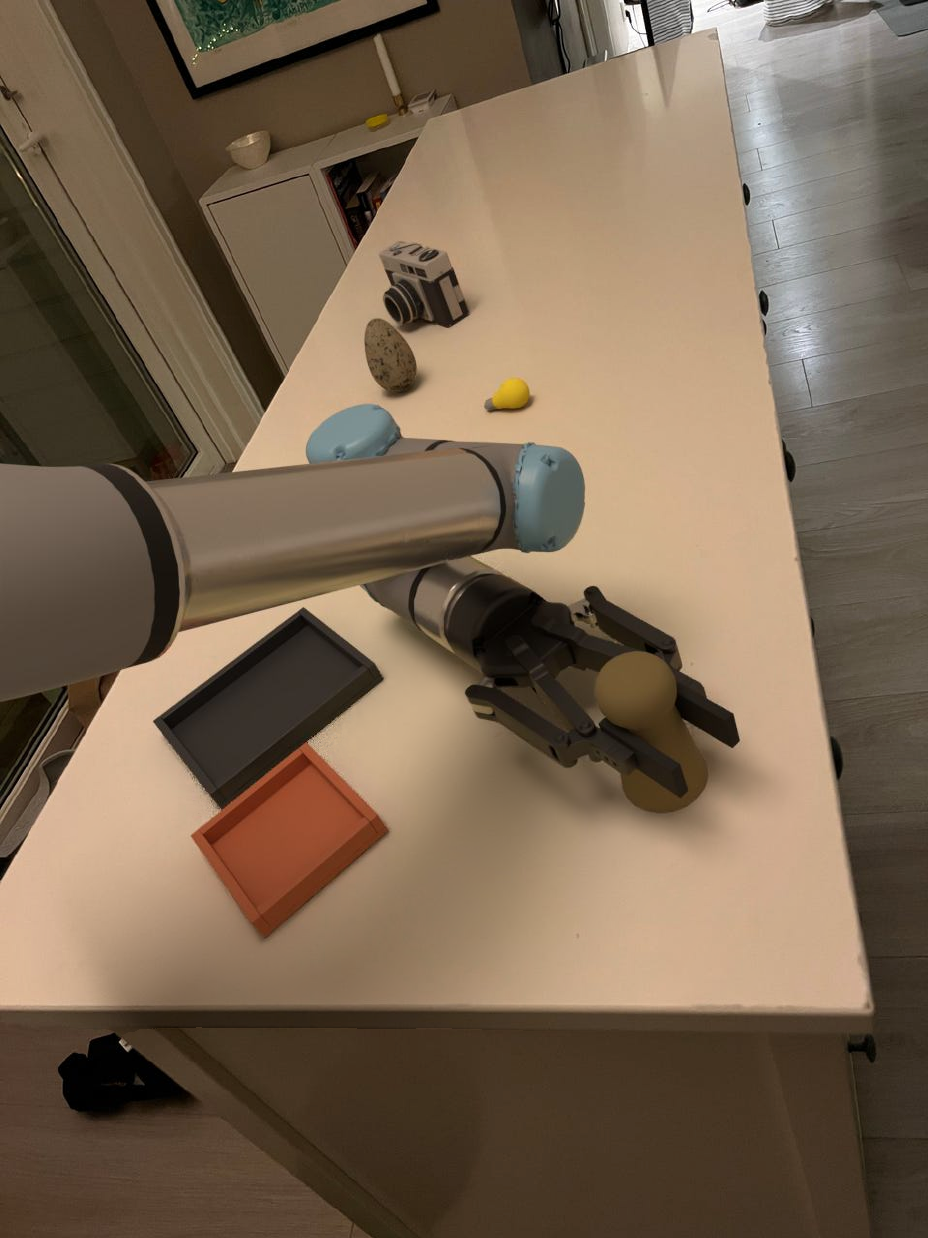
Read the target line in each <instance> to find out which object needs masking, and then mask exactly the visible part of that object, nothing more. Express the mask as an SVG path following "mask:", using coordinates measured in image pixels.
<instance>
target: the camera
mask: <svg viewBox="0 0 928 1238" xmlns="http://www.w3.org/2000/svg"><path fill="white" fill-rule="evenodd" d="M378 257H379V259H380V261H381V264H382V266H383V268H384V269H383V270H384V272H385V274H386V276H387V278H388V279H387V280H388V281H389V283H390V286H389V288H388V289H387V290H386V291H384V293H383V295H382V302H383V306H384V308H385V310H386V312H387V313H388V316H390V318H391V319H392V320H393V321H394V323H396V324H398V325H406V324H407V323H408V324H409V323H414V324H417V323H418V322H419V319H421V320H423V321H427V322H430V323H431V324H432V323H433V324H436V325H438V326H441V327H445V328H451V327H452V326H454V325H455V324H456V323H458V322H460V321H461V320H463V319H464V318H466V317H467V316H469V315H470V311H469V308H468V305H467V302H466V299H465V295H464V294H463V291H462V288H461V286H460V283H459V280H458V277H457V274H456V271H455V269H454V267H453V266H452V263H451V260H450V258H449V255H448V252H447V251H446V250H442V249H437V248H435V247H434V248H433V247H429V246H425V247H424V246H423V244H421V243H418V242H417V241H407V242H406V241H402V240H401V241H400V240H398V241H396V242H394V243H393V244H391V245H389V246H388V247H386V248H384V249H383V250H381V251H380V252H378Z"/></svg>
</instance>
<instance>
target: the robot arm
mask: <svg viewBox="0 0 928 1238" xmlns="http://www.w3.org/2000/svg"><path fill="white" fill-rule="evenodd" d="M401 432H402V431H401V427H400V425H398V424H397V422H396V421H395V419H394V417H393V416H392V414H391V413H390V411H388V410H387V409H385V408H383V407H382V406H381V405H379V404H374V403H362V404H357V405H356V404H355V405H353V406H349V407H346V408H344V409H342V410H340V411H338V412H336V413H334V414H332V415H330V416H329V417H327V418H326V419H325V420H323V421H322V422H321V423H320V424H319V425H318V426H317V427H316V429H314V430H313V431H312V432H311V434H310V436H309V437H308V440H307V442H306V445H305V456H306V460H307V461H308V463H303V464H295V465H294V464H293V465H286V466H276V467H267V468H257V469H249V470H239V471H231V472H220V473H213V474H204V475H193V476H185V477H176V478H167V479H165V478H164V479H157V480H149V481H147V480H146V481H145V480H144V479H143V478H141V476H139V474H137V473H136V472H134V471H132V469H130V468H127V467H125V466H123V465H120V464H115V463H98V464H87V465H86V464H85V465H72V466H39V465H25V464H11V463H0V703H2V702H7V701H11V700H16V699H19V698H25V697H27V696H31V695H36V694H40V693H43V692H46V691H51V690H54V689H58V688H63V687H65V686H69V685H73V684H77V683H81V682H84V681H89V680H92V679H96V678H99V677H103V676H106V675H110V674H112V673H116V672H120V671H123V670H126V669H129V668H134V667H136V666H139V665H143V664H146V663H151V662H153V661H155V660H157V659H159V658H161V657H162V656H163V655H165V654H166V653H167V651H168V650H169V649H170V648H171V647H172V645H173V643H174V642H175V640H176V638H177V636H178V634H179V633H181V632H186V631H190V630H193V629H197V628H201V627H204V626H208V625H209V626H210V625H213V624H216V623H220V622H223V621H227V620H232V619H235V618H239V617H243V616H247V615H250V614H251V615H252V614H254V613H259V612H261V611H266V610H270V609H274V608H277V607H280V606H285V605H289V604H292V603H296V602H301V601H304V600H307V599H311V598H315V597H319V596H322V595H327V594H331V593H334V592H338V591H342V590H346V589H349V588H353V587H357V586H359V587H360V588H361V589H362V590H364V591H365V592H366V593H367V595H368V597H370V598H371V599H372V600H373V601H374V602H375V603H378V604H379V605H380V606H381V607H383V608H385V609H387V610H389V611H391V612H392V613H394V614H396V615H397V616H398V617H400V618H401V619H403V620H404V621H406V622H408V623H409V624H411V626H413V627H415V628H416V629H417V630H419V631H421V632H422V633H423V634H425V635H426V636H428V638H430V639H432V640H433V641H435V642H436V643H438V644H439V645H440V646H442V647H444V648H445V649H446V650H448V651H449V652H451V653H452V654H454V655H455V656H456V657H458V658H459V659H460V660H461V661H463V662H465V663H466V664H468V666H470V667H471V668H473V669H474V670H476V671H478V672H479V673H480V674H482V676H483V677H482V678H481V679H480V681H479V682H478V684H471V685H469V686H467V687H466V688H465V690H464V695H465V697H466V700H467V701H468V703H469V705H470V707H471V709H472V711H473V713H474V715H475V717H476V718H477V719H480V720H485V721H489V722H492V723H493V722H494V723H498V724H499V725H501V726H502V727H504V728H505V729H506V730H508V731H510V732H511V733H513V734H514V735H516V736H517V737H519V738H520V739H521V740H523V741H524V742H526V743H528V744H529V745H531V746H532V747H533V748H535V749H536V750H538V751H539V752H541V753H542V754H543V755H545V756H547V757H548V758H549V759H551V760H552V761H553V762H555V763H557V764H558V765H559V766H561V767H563V768H565V769H572V768H573V767H575V766H576V765H577V764H578V762H579V759H580V758H583V757H585V756H588V758H589V760H590V761H591V762H592V763H600V762H603V763H605V764H607V765H608V766H609V767H611V768H612V769H613V770H615V771H616V772H618V773H619V774H620V773H621V774H625V775H630V774H631V773H632V772H633V771H634V770H635V769H638V770H639V771H641V772H642V773H644V774H645V775H647V776H648V777H649V778H651V779H652V780H654V781H655V782H657V783H658V784H660V785H661V786H663V787H664V788H666V789H667V790H669V791H670V792H671V793H673V794H674V795H676V796H677V797H679V798H680V799H681V798H682V797H683V796H684V795H685V794H686V793H687V792H688V791H689V790H688V787H687V784H686V781H685V777H684V774H683V771H682V768H681V765H680V764H679V763H678V762H676V761H675V760H673V759H672V758H670V757H669V756H667V755H665V754H664V753H662V752H661V751H659V750H658V749H656V748H655V747H653V746H652V745H650V744H649V743H647V742H645V741H644V740H642V739H641V738H639V737H638V736H636V735H635V734H633V733H632V732H630V731H628V730H627V729H625V728H622V727H620V726H618V725H615V724H613V723H612V722H610V721H609V720H608V719H607V718H606V717H605V716H604V717H603V718H602V720H600V721H599V722H598V726H597V725H596V724H595V721H594V719H592V717H591V716H590V715H589V714H588V713H587V712H586V711H585V710H584V708H583V707H582V706H581V705H580V703H578V702H577V701H576V699H574V698H573V696H572V695H571V694H570V693H569V692H568V691H567V690H566V689H565V688H564V687H563V685H562V684H561V683H560V682H559V681H558V679H557V677H558V676H559V675H560V673H561V672H562V671H565V670H567V669H568V668H569V667H571V668H573V669H577V670H580V671H583V672H584V671H587V670H591V671H594V672H597V673H599V672H600V670H601V669H602V668H603V667H604V665H605V664H606V663H607V662H609V661H610V660H611V659H613V658H614V657H616V656H619V655H621V654H623V653H628V652H633V651H640V652H647V653H650V654H653V655H655V656H657V657H659V658H660V659H662V660H663V661H664V662H666V663H667V665H668V666H669V667H670V669H671V671H672V673H673V674H674V676H675V680H676V687H677V696H676V700H675V705H676V707H677V709H678V711H679V713H680V715H681V717H682V719H683V721H686V722H687V723H688V724H691V725H692V726H694V727H696V728H698V729H699V730H701V731H702V732H704V733H706V734H707V735H709V736H710V737H712V738H714V739H715V740H717V741H719V742H721V743H722V744H724V745H726V746H727V747H729V748H731V749H734V747H735V746H736V745H737V744H739V743H740V742H741V738H740V735H739V730H738V726H737V722H736V717H735V714H734V713H733V712H732V711H730V710H729V709H727V708H724V707H723V706H722V705H719V704H718V703H716V702H714V701H712V700H710V699H709V698H708V697H707V693H706V689H705V687H704V685H703V684H702V682H701V681H699V680H696V679H694V678H693V677H691V676H689V675H688V674H685V673H684V672H682V671H681V670H682V669H683V666H684V665H683V662H682V658H681V657H682V656H681V655H680V651H679V647H678V644H677V640H676V638H674V637H673V636H671V635H670V634H667V633H666V632H664V631H662V630H661V629H659V628H657V627H655V626H653V625H652V624H650V623H648V622H646V621H645V620H643V619H641V618H639V617H638V616H636V615H634V614H632V613H630V612H629V611H628V610H625V609H623V608H622V607H621V606H618V605H616V604H614V603H613V602H611V601H609V600H607V598H606V597H605V596H604V594H603V592H602V590H601V589H600V588H599V587H598V586H597V585H590V586H587V587H586V588H585V589H584V590H583V596H584V598H582V599H580V600H579V601H575V602H574V603H572V604H569V605H567V604H566V603H563V602H555V601H554V602H553V601H548V600H547V599H545V598H544V597H543V596H541V595H540V594H539V593H537V592H536V591H535V590H533V589H531V588H530V587H528V586H526V585H524V584H523V583H520V582H519V581H517V580H515V579H513V578H511V577H510V576H507V575H505V574H503V573H502V572H501V571H499V570H498V569H495V568H494V567H492V566H491V565H488V564H486V563H484V562H482V561H480V560H478V559H477V558H475V557H473V556H476V555H481V554H485V553H490V552H493V551H497V550H517V551H520V553H522V554H523V553H524V554H529V553H555V552H558V551H561V550H562V549H564V548H565V547H566V546H568V544H569V543H570V542H571V541H572V540H573V539H574V538H575V536H576V535H577V532H578V530H579V528H580V526H581V524H582V520H583V517H584V512H585V508H586V501H585V498H586V482H585V476H584V472H583V469H582V467H581V465H580V463H579V461H578V460H577V458H576V457H575V456H574V455H573V453H571V452H570V451H569V450H567V449H566V448H563V447H560V446H553V445H545V444H536V443H535V442H534V441H533V442H532V441H531V442H530V441H528V442H527V443H526V442H525V443H511V442H510V443H508V442H488V441H487V442H486V441H485V442H484V441H455V440H451V439H449V440H448V439H433V438H415V437H404V436H403V435H402V433H401ZM576 622H583V623H585V624H586V625H589V627H590V628H591V629H596V628H597V627H598V629H599V630H600V631H601V632H602V633H603V634H605V635H606V636H608V637H610V638H611V639H613V640H614V641H616V642H614V641H612V640H608V639H605V638H601V637H598V636H595V635H592V634H589V633H587V632H586V631H585V630H584V628H583V627H580V626H576ZM502 689H530V690H531V692H533V694H534V695H535V696H536V697H537V699H538V700H539V701H540V702H541V703H542V704H545V706H546V707H547V708H548V709H549V710H550V712H551V713H552V714H553V715H554V716H555V718H556V719H557V720H558V721H559V722H560V723H561V725H562V726H563V727H564V728H565V729H566V730H567V732H566V731H565V730H563V729H561V728H560V727H559V726H557V725H555V724H554V723H552V722H550V721H549V720H548V719H546V718H544V717H543V716H541V715H540V714H539V713H536V712H535V711H533V710H532V709H531V708H529V707H527V706H526V705H524V704H523V703H521V702H520V701H518V700H516V699H515V698H513V697H512V696H510V695H508V693H506V692H504V691H502Z"/></svg>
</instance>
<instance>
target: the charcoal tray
mask: <svg viewBox="0 0 928 1238" xmlns="http://www.w3.org/2000/svg"><path fill="white" fill-rule="evenodd" d="M383 680H384V677H383V675H382V673H381V671H380V670H379V668H378V666H377V665H376V662H374V661H373V660H371V659H370V658H369V657H368V656H366V655H365V654H364V653H363V652H361V651H360V650H359V649H357V648H356V646H354V645H353V644H351V643H350V642H349V641H347V640H346V639H345V638H344V637H342V636H341V635H340V634H339V633H337V632H336V631H334V630H333V629H332V628H331V627H329V626H328V625H327V623H325V622H323V620H321V619H320V618H319V617H317V616H316V615H315V614H313V613H312V612H311V611H310V610H308V609H307V608H305V607H304V606H303V607H301V608H299V609H298V610H297V611H296V612H295V613H293V614H292V615H291V616H289V617H288V618H286V619H285V620H284V621H282V622H281V623H280V624H278V625H277V626H276V627H275V628H273V629H272V630H271V631H270V632H267V633H266V634H265V635H264V636H263V637H261V638H260V639H259V640H258V641H256V642H255V643H253V644H252V645H251V646H250V647H248V648H247V649H245V650H244V651H243V652H241V653H240V654H239V655H237V656H236V657H235V658H234V659H232V660H230V662H228V663H227V664H226V665H225V666H224V667H222V668H221V669H219V670H218V671H216V672H215V673H214V674H213V675H211V676H210V677H209V678H208V679H206V680H205V681H203V682H202V683H201V684H200V685H198V686H197V687H195V688H194V689H192V691H190V692H189V693H188V694H186V695H185V696H183V697H182V698H181V699H180V700H178V701H177V702H176V703H174V704H173V705H172V706H171V707H169V708H168V709H166V710H165V711H164V712H162V713H161V714H159V716H157V717H156V718H155V719H153V721H152V723H153V724H154V725H155V726H156V728H157V729H158V731H159V732H160V733H161V734H162V736H163V737H164V738H165V740H166V741H167V742H168V743H169V745H170V746H171V748H172V749H173V750H174V751H175V753H176V754H177V755H178V757H179V758H180V759H181V760H182V762H183V763H184V764H185V765H186V767H187V768H188V769H189V771H190V772H191V774H192V775H193V776H194V777H195V778H196V780H197V781H198V782H199V784H200V785H201V786H202V788H203V789H204V791H206V793H207V794H208V796H209V797H210V798H211V799H212V800H213V802H215V804H216V805H217V806H218V807H219V809H220V810H223V809H224V808H225V807H226V806H227V805H229V804H230V803H231V802H232V801H234V800H235V799H236V798H237V797H239V796H240V795H241V794H242V793H244V792H245V791H246V790H247V789H248V788H250V787H251V786H252V785H253V784H255V783H256V782H257V781H258V780H260V779H261V778H262V777H263V776H265V775H266V774H267V773H268V772H269V771H271V770H272V769H273V768H274V767H276V766H277V765H278V764H279V763H281V762H282V761H283V760H284V759H286V758H287V757H288V756H289V755H290V754H292V753H293V752H294V751H295V750H297V749H299V747H301V746H302V745H303V744H304V743H307V742H308V741H309V740H310V739H312V738H313V737H314V736H315V735H316V734H318V733H319V732H320V731H321V730H323V729H324V728H325V727H326V726H327V725H329V724H330V723H331V722H332V721H334V720H335V719H336V718H338V716H340V715H341V714H342V713H343V712H344V711H346V710H347V709H348V708H349V707H351V706H352V705H354V703H356V702H357V701H358V700H359V699H360V698H362V697H363V696H364V695H366V694H367V693H368V692H370V691H371V690H372V689H373V688H374V687H375V686H376V685H378V684H379V683H381V682H382V681H383Z"/></svg>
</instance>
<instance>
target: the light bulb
mask: <svg viewBox="0 0 928 1238" xmlns="http://www.w3.org/2000/svg"><path fill="white" fill-rule="evenodd" d="M530 395H531V393H530V387H529V386H528V384H527V382H526V381H525V380H523V379H522V378H520V377H519V378H518V377H510V378H507V379H505V380H504V381H503V382H502V384H501V385H500V387H498V389H497V391H496V392H494V393H493V394H492V397H490V398H487V399H486V400H485V401H484V404H483V405H484V406H483V408H484V409H485V410H487V411H488V412H492V411H494V410H497V409H498V410H501V409H521V408H522V407H524V406H525V405H526V404H527V402H528V400H529V397H530Z"/></svg>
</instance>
